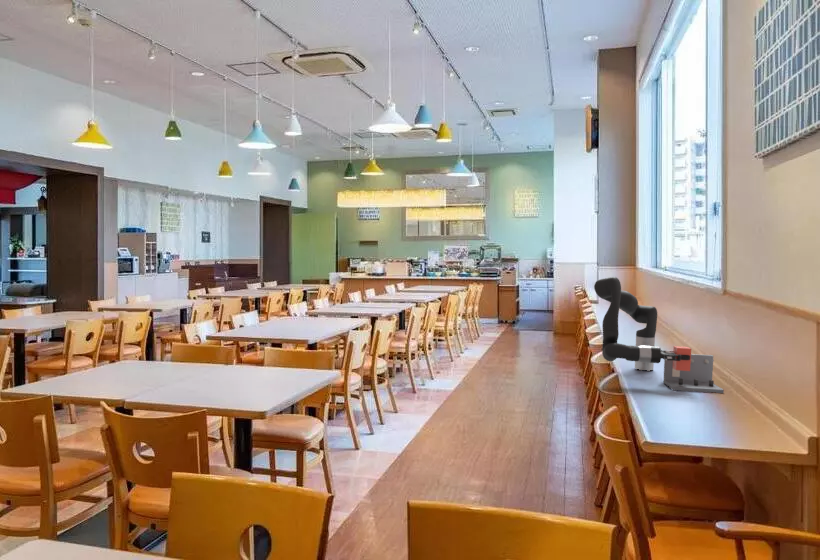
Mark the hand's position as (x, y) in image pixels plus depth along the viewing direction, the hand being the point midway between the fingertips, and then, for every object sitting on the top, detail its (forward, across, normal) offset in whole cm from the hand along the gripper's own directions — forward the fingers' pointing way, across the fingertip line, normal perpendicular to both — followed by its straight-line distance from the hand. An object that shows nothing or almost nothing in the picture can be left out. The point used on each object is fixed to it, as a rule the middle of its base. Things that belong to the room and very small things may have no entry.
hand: (687, 356), depth 282 cm
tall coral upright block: (-2, 0, +6) cm, 6 cm away
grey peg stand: (+3, +2, +14) cm, 15 cm away
